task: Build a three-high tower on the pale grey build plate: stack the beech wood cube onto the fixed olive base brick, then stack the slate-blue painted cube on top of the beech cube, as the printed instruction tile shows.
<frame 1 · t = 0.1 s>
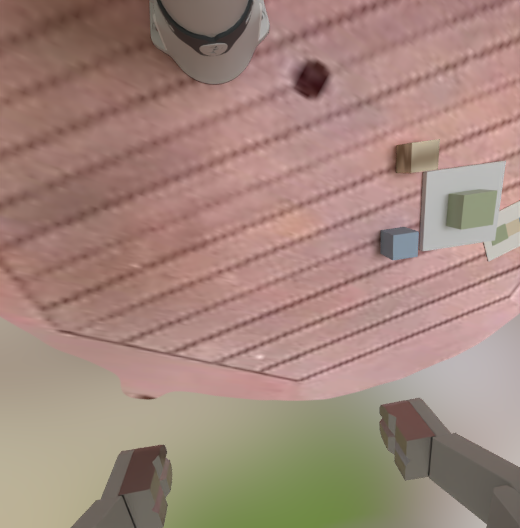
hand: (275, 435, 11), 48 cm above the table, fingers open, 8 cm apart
slate blue block: (392, 240, 61), on the table
instruction card: (513, 226, 62), on the table
build plate: (458, 207, 60), on the table
beech block: (408, 157, 56), on the table
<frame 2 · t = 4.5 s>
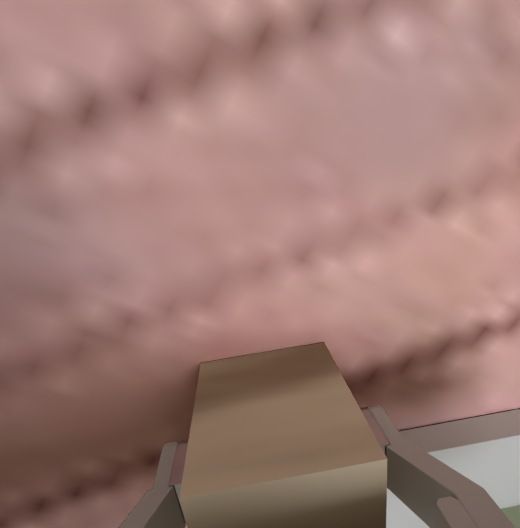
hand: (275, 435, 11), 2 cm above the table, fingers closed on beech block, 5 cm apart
build plate: (484, 521, 16), on the table
beech block: (270, 401, 12), on the table, touching gripper
when the fingers open (8 cm above the table, at t = 10.2 s): beech block drops 1 cm, resting on build plate.
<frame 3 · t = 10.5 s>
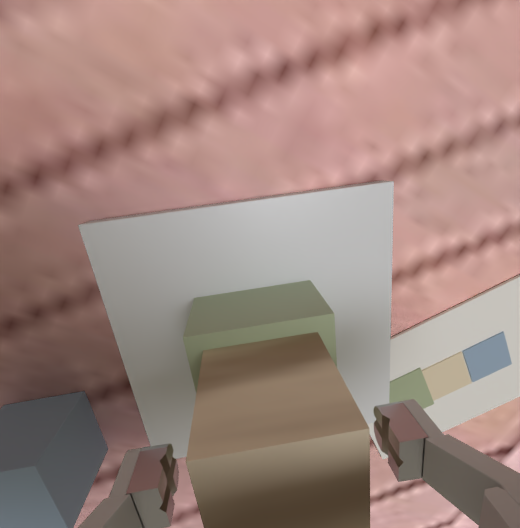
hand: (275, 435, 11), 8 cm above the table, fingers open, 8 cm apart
slate blue block: (59, 427, 19), on the table
instruction card: (448, 372, 21), on the table
build plate: (258, 328, 18), on the table
beech block: (267, 387, 13), point 5 cm above the table, touching build plate
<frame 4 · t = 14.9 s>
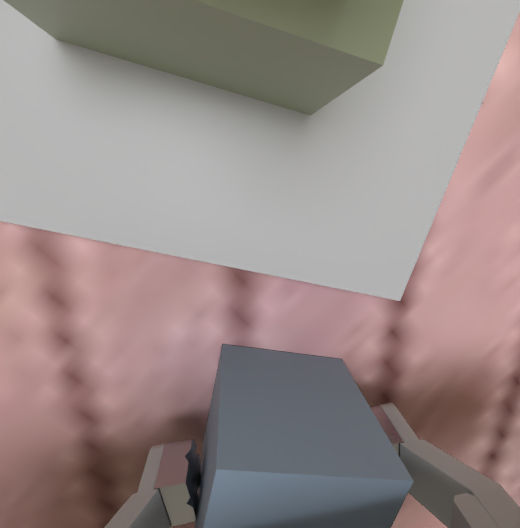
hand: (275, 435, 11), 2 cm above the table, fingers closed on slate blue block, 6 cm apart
slate blue block: (270, 401, 12), on the table, touching gripper
when the fingers open (13 cm above the table, at t = 20.6 s): slate blue block stays where it is, resting on beech block.
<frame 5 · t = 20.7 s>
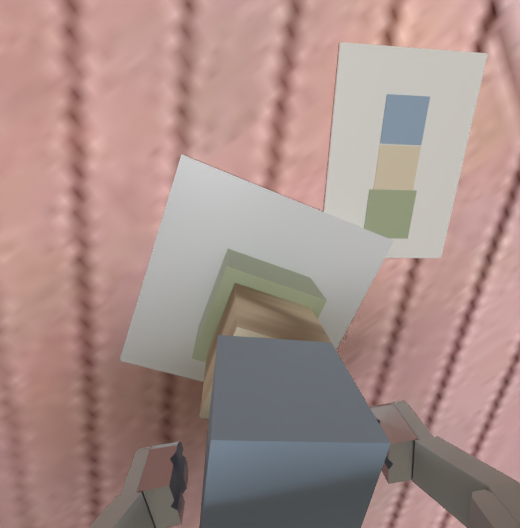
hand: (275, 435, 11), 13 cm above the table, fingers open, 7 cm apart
slate blue block: (267, 386, 13), point 10 cm above the table, touching beech block
instruction card: (395, 163, 21), on the table
build plate: (252, 295, 23), on the table
beech block: (258, 330, 18), point 5 cm above the table, touching build plate, slate blue block
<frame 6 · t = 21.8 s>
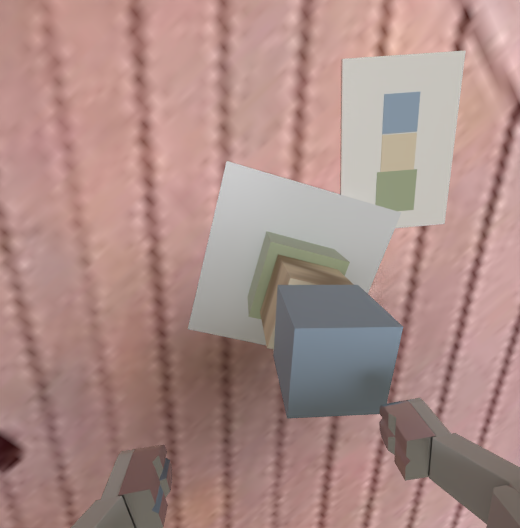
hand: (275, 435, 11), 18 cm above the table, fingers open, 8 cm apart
slate blue block: (314, 321, 18), point 10 cm above the table, touching beech block
instruction card: (397, 149, 25), on the table
build plate: (288, 269, 28), on the table
beech block: (298, 290, 23), point 5 cm above the table, touching build plate, slate blue block
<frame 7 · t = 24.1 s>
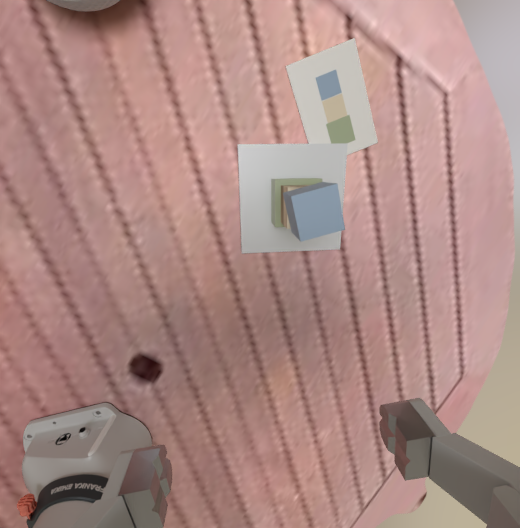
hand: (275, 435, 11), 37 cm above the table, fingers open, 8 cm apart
slate blue block: (306, 207, 35), point 10 cm above the table, touching beech block
instruction card: (333, 106, 42), on the table
build plate: (291, 199, 45), on the table
beech block: (298, 203, 40), point 5 cm above the table, touching build plate, slate blue block
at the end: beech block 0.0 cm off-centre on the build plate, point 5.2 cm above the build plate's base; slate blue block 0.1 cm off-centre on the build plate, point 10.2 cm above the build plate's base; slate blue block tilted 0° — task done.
